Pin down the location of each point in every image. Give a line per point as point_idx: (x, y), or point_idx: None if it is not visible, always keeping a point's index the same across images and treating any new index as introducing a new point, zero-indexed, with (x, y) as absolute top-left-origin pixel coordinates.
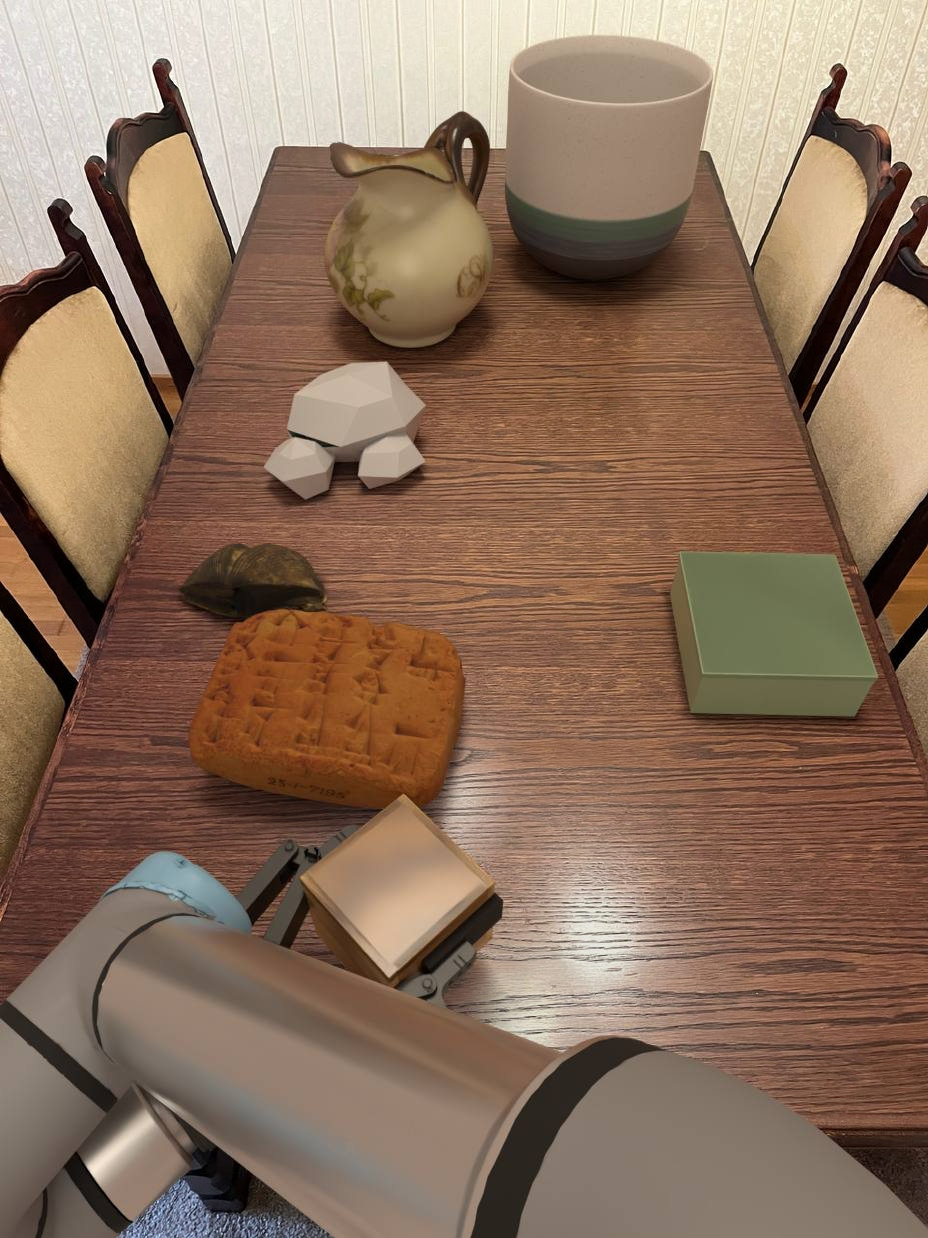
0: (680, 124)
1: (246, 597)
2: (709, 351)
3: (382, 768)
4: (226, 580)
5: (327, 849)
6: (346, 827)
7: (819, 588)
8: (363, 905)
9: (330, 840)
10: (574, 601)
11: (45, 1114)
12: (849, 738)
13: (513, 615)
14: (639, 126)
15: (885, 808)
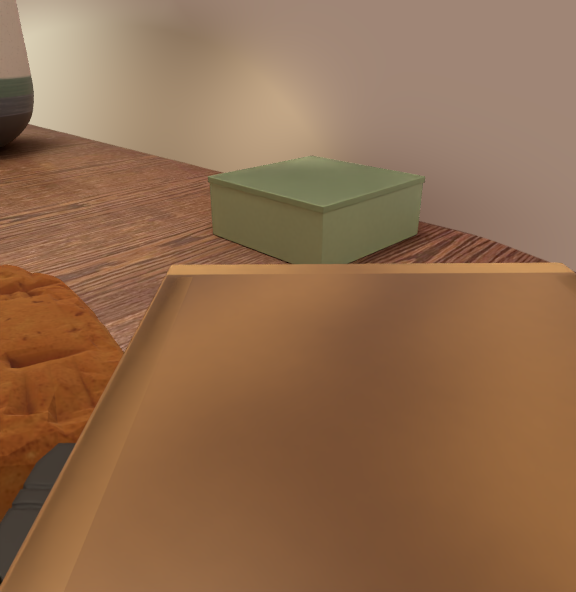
0: (3, 3)
1: None
2: (103, 158)
3: (24, 419)
4: None
5: (8, 564)
6: (39, 464)
7: (327, 164)
8: (448, 524)
9: (1, 529)
10: (134, 263)
11: None
12: (432, 242)
13: (77, 291)
14: None
15: (506, 258)
